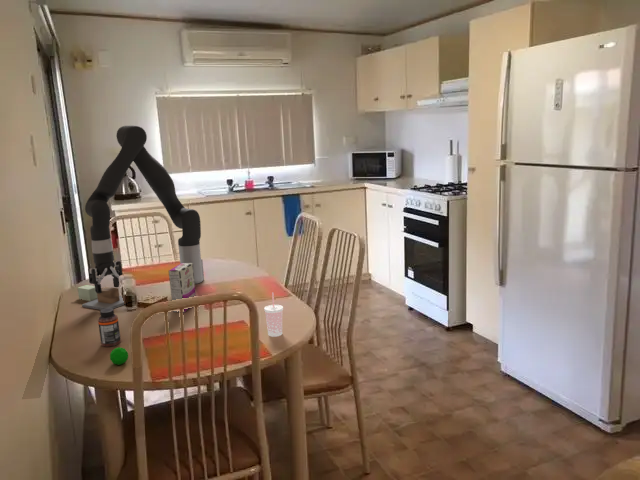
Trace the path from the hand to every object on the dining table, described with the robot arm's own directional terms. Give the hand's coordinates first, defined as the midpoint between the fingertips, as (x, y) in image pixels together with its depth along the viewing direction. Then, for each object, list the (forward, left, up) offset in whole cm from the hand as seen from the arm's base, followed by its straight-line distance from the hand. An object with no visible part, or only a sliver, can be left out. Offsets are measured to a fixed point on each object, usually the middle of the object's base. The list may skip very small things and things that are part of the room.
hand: (108, 290), depth 212 cm
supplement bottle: (+30, +35, -6) cm, 47 cm away
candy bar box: (-7, +33, -6) cm, 34 cm away
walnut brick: (0, 0, -5) cm, 5 cm away
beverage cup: (+3, +80, -6) cm, 80 cm away
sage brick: (-2, -14, -6) cm, 15 cm away
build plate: (0, 0, -6) cm, 6 cm away
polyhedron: (+40, +50, -6) cm, 64 cm away
